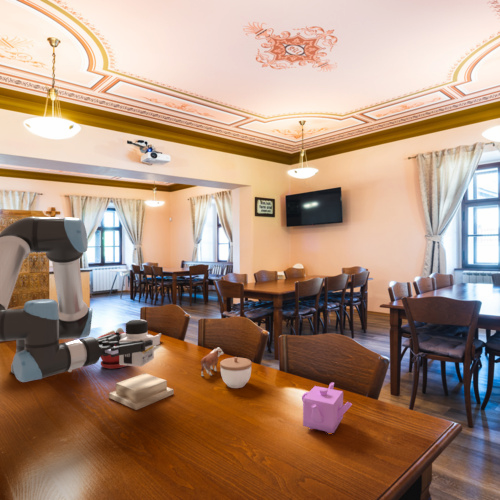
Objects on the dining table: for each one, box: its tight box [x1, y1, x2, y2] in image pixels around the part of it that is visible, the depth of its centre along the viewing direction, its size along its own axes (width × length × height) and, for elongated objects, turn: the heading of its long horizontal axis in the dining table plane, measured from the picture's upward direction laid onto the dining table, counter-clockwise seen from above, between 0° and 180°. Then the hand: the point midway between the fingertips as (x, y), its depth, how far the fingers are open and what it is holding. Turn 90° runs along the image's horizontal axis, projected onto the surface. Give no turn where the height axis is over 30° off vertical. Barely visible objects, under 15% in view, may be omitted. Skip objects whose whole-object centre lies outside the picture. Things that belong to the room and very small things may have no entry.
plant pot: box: [97, 331, 128, 370], centre depth 144 cm, size 13×13×12 cm
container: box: [119, 319, 155, 368], centre depth 113 cm, size 8×8×13 cm
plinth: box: [108, 372, 174, 411], centre depth 114 cm, size 14×14×4 cm
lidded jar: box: [219, 356, 253, 389], centre depth 123 cm, size 11×11×9 cm
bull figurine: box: [200, 347, 224, 377], centre depth 136 cm, size 4×13×8 cm, turn 155°
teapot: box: [301, 381, 353, 434], centre depth 95 cm, size 18×13×10 cm
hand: (148, 336), depth 117 cm, fingers closed on container, 10 cm apart
